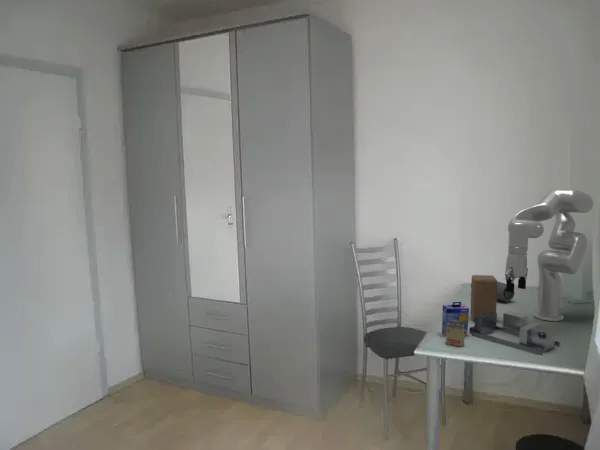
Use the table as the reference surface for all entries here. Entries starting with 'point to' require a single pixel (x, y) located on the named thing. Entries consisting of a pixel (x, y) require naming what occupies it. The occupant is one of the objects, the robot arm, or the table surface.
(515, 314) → the steel block
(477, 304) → the block
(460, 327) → the lighter
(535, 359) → the table surface
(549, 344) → the sliding jaw
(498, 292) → the bluetooth speaker
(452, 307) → the ink cartridge box
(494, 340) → the frame
